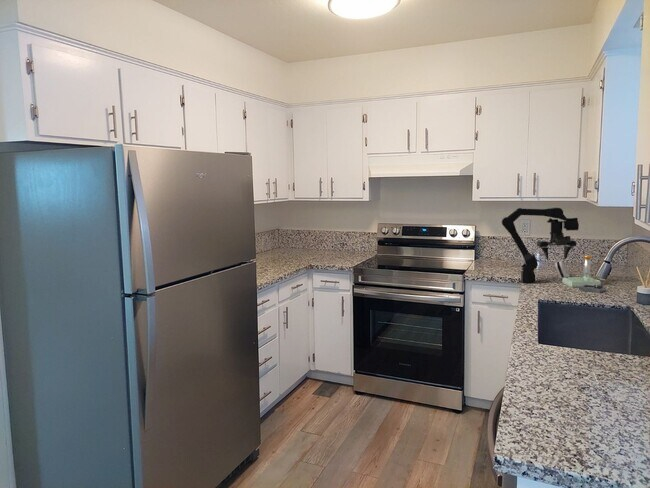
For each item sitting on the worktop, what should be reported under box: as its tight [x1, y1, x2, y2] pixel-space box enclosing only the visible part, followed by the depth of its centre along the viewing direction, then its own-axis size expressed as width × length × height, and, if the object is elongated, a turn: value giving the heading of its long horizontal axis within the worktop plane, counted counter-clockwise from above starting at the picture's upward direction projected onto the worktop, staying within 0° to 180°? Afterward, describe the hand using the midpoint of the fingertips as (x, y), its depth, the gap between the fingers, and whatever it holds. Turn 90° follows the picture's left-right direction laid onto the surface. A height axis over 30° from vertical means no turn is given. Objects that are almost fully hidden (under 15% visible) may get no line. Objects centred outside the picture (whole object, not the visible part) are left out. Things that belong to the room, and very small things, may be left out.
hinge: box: [554, 260, 571, 279], centre depth 270 cm, size 17×5×10 cm, turn 152°
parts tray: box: [561, 276, 602, 288], centre depth 243 cm, size 14×12×3 cm
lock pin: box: [582, 254, 593, 281], centre depth 241 cm, size 4×4×15 cm
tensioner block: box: [578, 284, 607, 294], centre depth 228 cm, size 9×7×3 cm
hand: (556, 259), depth 250 cm, fingers open, 9 cm apart
